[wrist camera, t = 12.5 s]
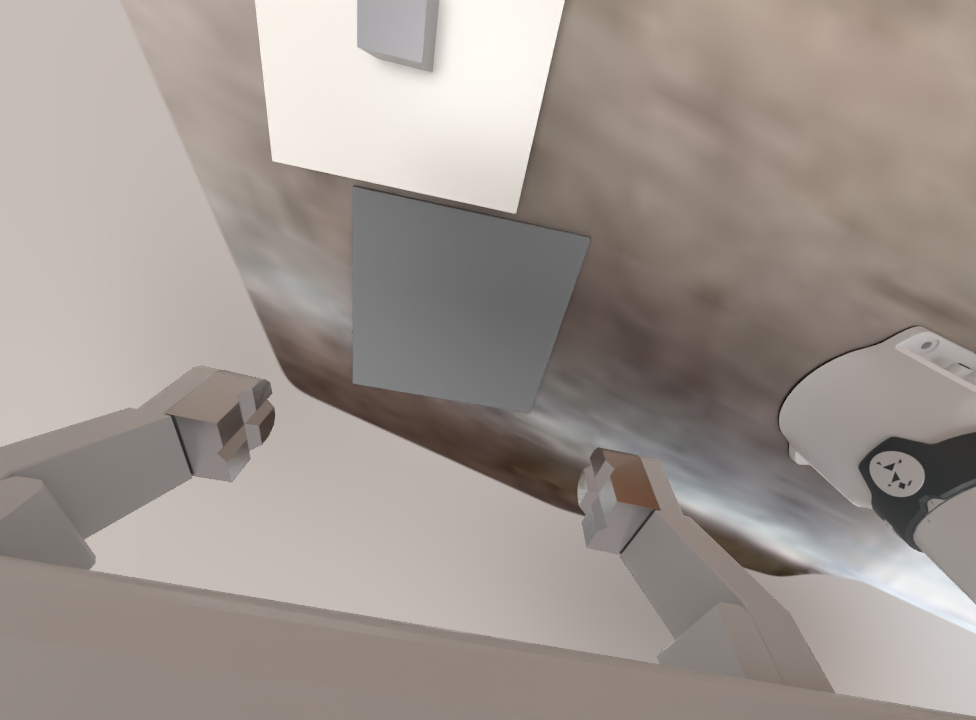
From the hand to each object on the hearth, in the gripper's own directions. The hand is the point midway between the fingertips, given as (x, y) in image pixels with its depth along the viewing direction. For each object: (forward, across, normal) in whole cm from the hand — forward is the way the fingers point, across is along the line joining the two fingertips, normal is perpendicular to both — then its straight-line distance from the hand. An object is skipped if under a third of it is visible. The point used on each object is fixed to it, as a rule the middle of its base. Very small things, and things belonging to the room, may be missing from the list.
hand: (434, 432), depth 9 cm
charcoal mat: (+25, +1, +10) cm, 27 cm away
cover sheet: (+23, +7, -10) cm, 26 cm away
